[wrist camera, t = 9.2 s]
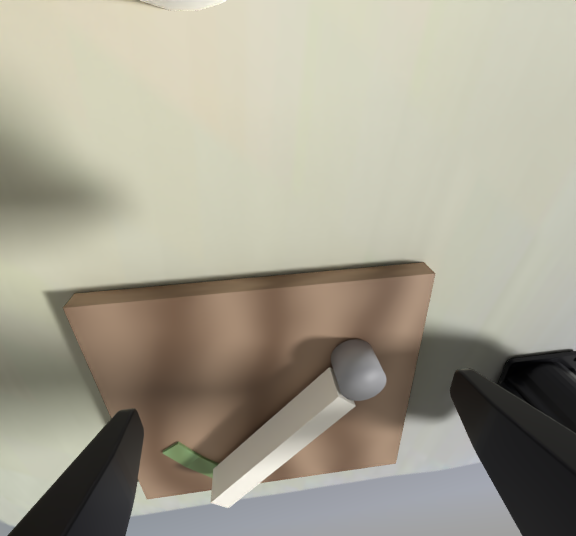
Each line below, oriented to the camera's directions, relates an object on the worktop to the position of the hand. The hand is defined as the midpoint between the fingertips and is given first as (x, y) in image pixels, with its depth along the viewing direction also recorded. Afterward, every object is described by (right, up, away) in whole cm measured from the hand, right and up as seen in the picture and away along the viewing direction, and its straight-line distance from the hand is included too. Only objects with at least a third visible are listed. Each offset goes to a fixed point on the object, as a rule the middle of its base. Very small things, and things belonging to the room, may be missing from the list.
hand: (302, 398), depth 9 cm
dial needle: (0, -7, +16) cm, 17 cm away
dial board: (-2, -6, +17) cm, 18 cm away
